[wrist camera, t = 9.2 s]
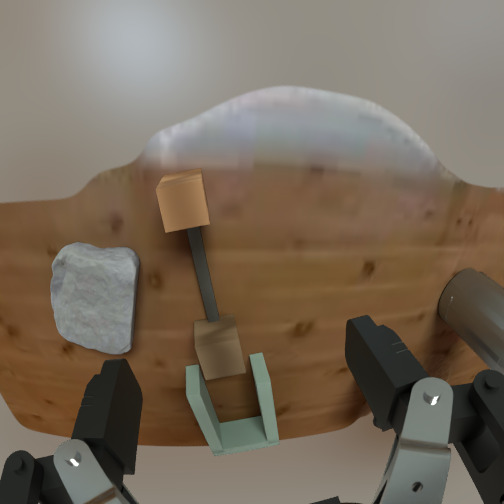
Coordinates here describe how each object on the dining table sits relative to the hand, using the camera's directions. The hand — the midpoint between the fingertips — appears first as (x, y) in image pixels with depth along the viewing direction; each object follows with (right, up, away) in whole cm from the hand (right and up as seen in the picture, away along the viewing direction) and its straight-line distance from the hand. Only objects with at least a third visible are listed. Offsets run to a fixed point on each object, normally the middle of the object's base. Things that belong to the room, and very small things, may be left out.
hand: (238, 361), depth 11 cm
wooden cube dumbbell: (-5, +2, +22) cm, 22 cm away
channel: (-2, -16, +30) cm, 34 cm away
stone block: (-17, 0, +21) cm, 27 cm away
